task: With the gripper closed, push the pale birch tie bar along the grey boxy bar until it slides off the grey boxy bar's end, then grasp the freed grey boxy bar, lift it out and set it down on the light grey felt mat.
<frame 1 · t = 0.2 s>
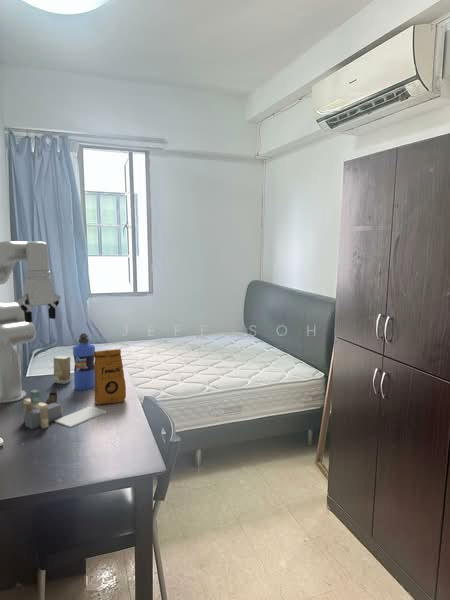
hand: (40, 320, 153), 36 cm above the table, tool pointing down, fingers open, 9 cm apart
hand tool: (49, 407, 163), on the table
mat: (80, 416, 153), on the table
skincare box: (62, 382, 191), on the table
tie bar: (35, 407, 145), point 6 cm above the table, slide at 0.0 cm
coffee package: (110, 401, 168), on the table
water bottle: (85, 388, 184), on the table
grey boxy bar: (43, 421, 148), on the table
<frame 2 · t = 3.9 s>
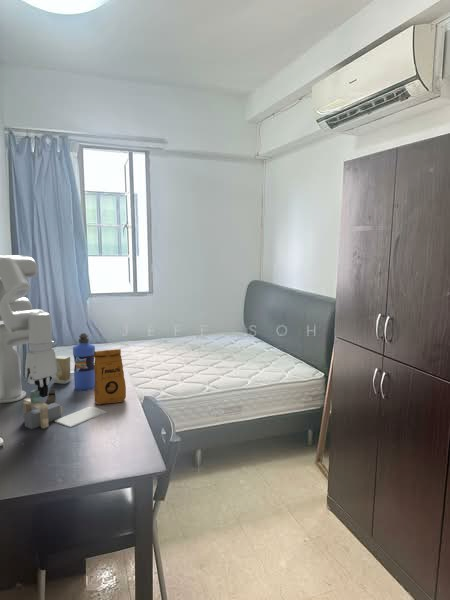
hand: (43, 395, 147), 10 cm above the table, tool pointing down, fingers closed
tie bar: (35, 407, 145), point 6 cm above the table, slide at 0.0 cm, touching gripper
everything else where it was.
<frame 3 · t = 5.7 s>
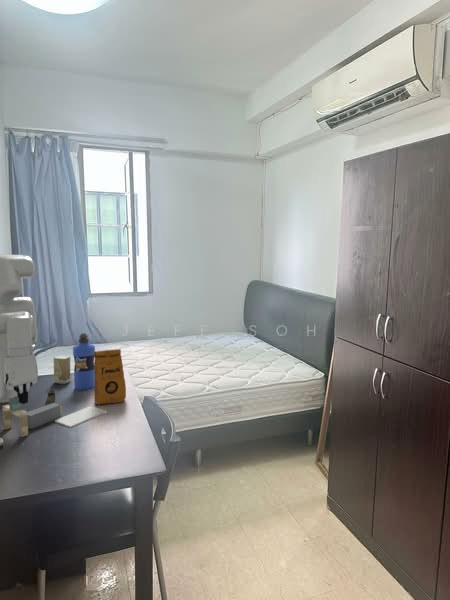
hand: (23, 402, 141), 10 cm above the table, tool pointing down, fingers closed
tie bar: (14, 414, 139), point 6 cm above the table, slide at 7.7 cm, touching gripper
everything else where it was.
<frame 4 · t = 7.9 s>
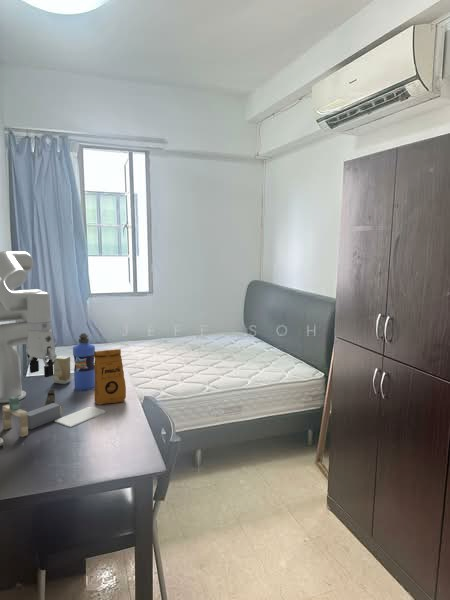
hand: (41, 373, 146), 18 cm above the table, tool pointing down, fingers open, 8 cm apart
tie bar: (14, 414, 139), point 6 cm above the table, slide at 7.7 cm
everything else where it was.
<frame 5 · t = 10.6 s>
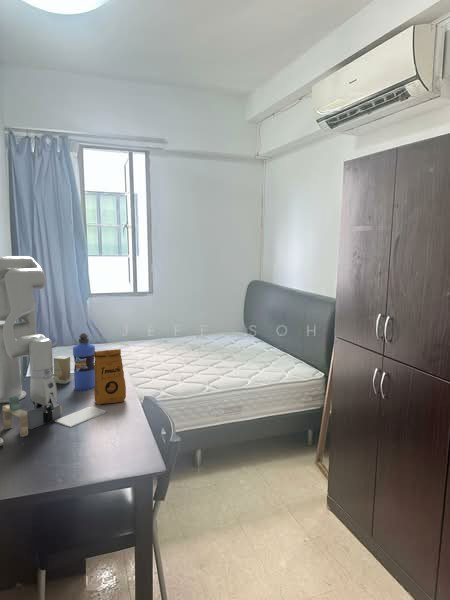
hand: (44, 420, 148), 0 cm above the table, tool pointing down, fingers closed on grey boxy bar, 4 cm apart
grey boxy bar: (43, 421, 148), on the table, touching gripper
everything else where it was.
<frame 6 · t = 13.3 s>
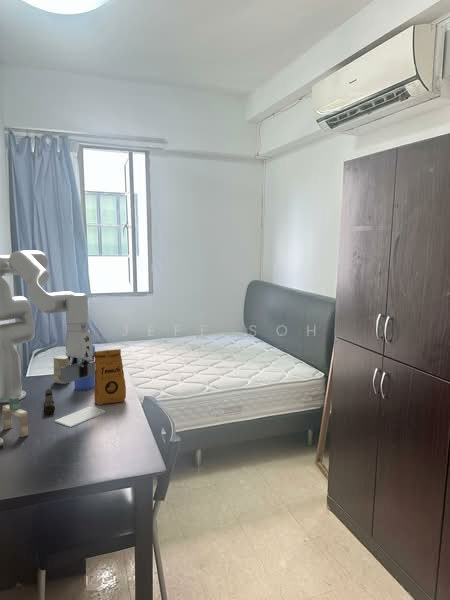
hand: (79, 374, 150), 16 cm above the table, tool pointing down, fingers closed on grey boxy bar, 4 cm apart
grey boxy bar: (78, 377, 150), point 16 cm above the table, touching gripper
when the fingers open (3 cm above the table, at t = 16.0 s): grey boxy bar drops 1 cm, resting on mat.
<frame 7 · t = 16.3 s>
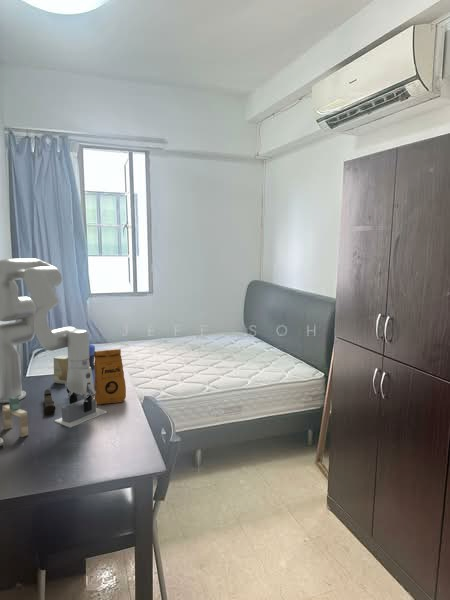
hand: (80, 408, 152), 3 cm above the table, tool pointing down, fingers open, 7 cm apart
grey boxy bar: (79, 416, 152), resting on mat
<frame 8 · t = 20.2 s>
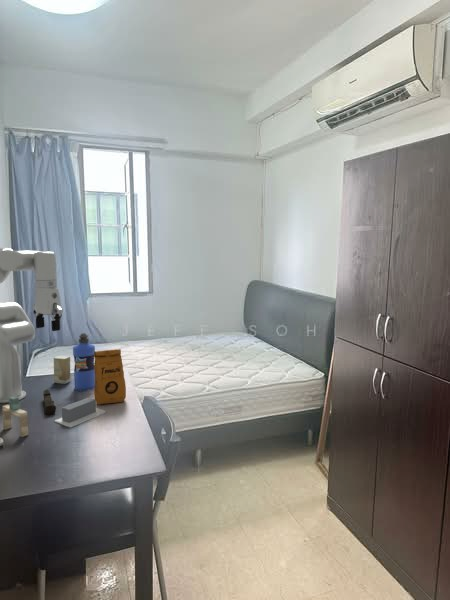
hand: (48, 329, 155), 32 cm above the table, tool pointing down, fingers open, 9 cm apart
at the end: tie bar slide at 7.7 cm; grey boxy bar inside the target area on the mat (0.5 cm from its centre), point 0.5 cm above the mat's base; the gripper is holding nothing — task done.
